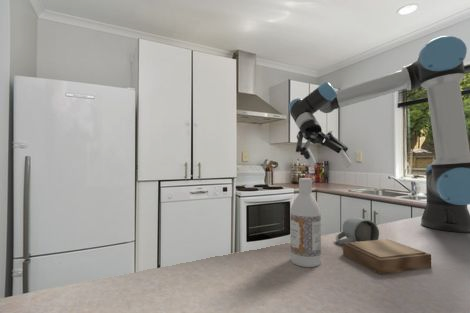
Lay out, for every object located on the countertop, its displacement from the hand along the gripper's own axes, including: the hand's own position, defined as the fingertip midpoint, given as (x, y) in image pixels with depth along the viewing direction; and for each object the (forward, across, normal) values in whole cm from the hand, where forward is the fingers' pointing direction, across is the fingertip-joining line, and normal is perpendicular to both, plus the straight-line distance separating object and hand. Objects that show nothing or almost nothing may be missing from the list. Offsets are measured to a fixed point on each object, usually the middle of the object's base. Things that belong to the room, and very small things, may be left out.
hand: (332, 165), depth 86 cm
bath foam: (+31, +21, -2) cm, 37 cm away
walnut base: (+33, +2, +1) cm, 33 cm away
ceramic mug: (+24, 0, -8) cm, 26 cm away
